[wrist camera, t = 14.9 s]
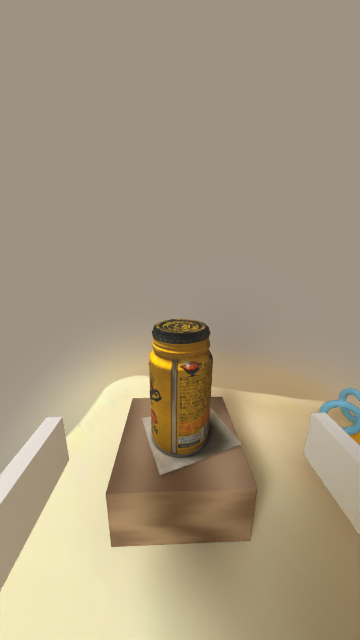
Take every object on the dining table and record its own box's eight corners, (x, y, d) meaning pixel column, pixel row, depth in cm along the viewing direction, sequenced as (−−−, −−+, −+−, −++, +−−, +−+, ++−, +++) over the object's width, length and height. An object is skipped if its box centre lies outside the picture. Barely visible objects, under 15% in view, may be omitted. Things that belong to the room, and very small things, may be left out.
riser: (219, 433, 30) (222, 396, 28) (249, 540, 18) (257, 488, 17) (134, 435, 29) (132, 398, 28) (111, 546, 18) (105, 493, 16)
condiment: (141, 419, 24) (137, 318, 21) (206, 402, 27) (211, 312, 24) (159, 477, 18) (157, 344, 15) (242, 446, 21) (254, 331, 18)
